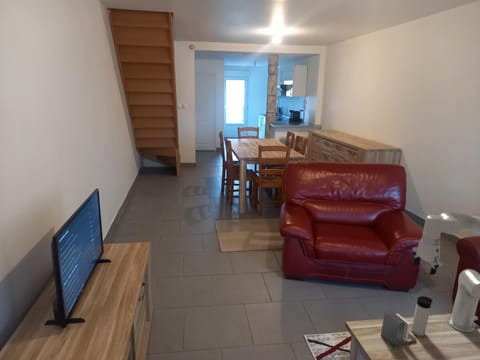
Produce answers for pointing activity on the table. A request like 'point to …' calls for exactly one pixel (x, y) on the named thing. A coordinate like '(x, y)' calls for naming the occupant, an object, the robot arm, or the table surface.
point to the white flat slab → (405, 329)
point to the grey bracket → (394, 330)
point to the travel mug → (421, 315)
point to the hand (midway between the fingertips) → (424, 269)
